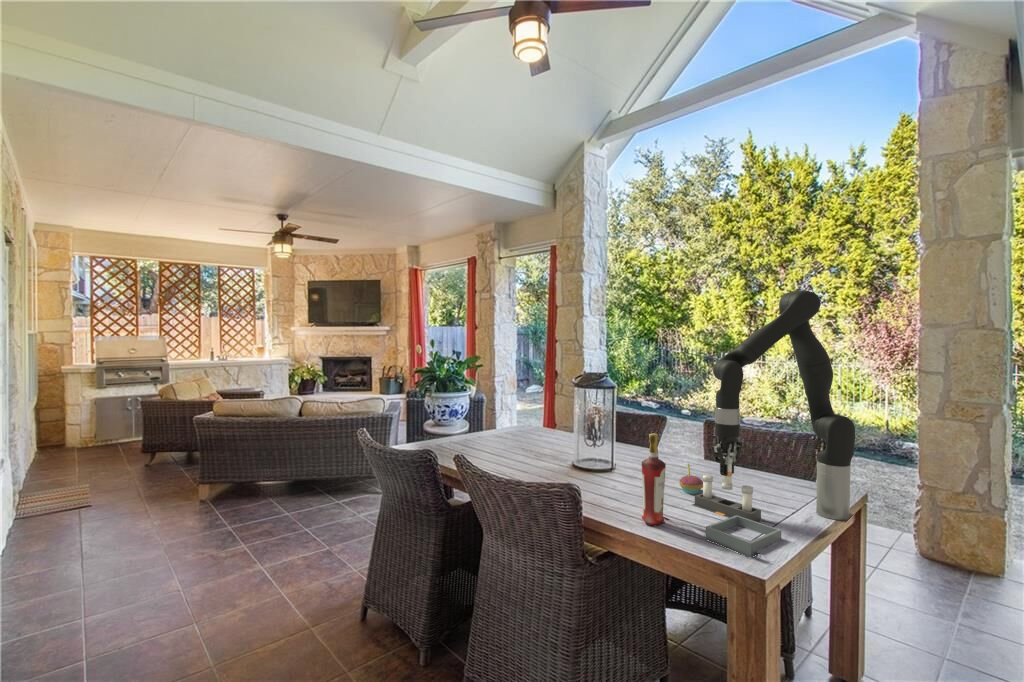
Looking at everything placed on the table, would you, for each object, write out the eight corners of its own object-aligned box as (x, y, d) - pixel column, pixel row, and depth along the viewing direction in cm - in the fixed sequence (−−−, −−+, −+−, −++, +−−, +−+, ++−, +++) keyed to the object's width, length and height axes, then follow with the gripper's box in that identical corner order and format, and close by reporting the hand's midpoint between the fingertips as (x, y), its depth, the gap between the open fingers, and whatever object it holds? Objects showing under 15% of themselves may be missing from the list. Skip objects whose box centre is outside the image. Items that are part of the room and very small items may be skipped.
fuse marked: (725, 486, 163) (725, 455, 163) (734, 488, 161) (734, 458, 160) (719, 487, 161) (719, 457, 161) (728, 490, 159) (728, 459, 159)
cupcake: (674, 493, 184) (674, 461, 184) (692, 490, 187) (692, 459, 187) (690, 500, 176) (690, 467, 176) (709, 497, 179) (709, 464, 179)
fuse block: (705, 504, 172) (705, 491, 172) (764, 524, 155) (764, 509, 155) (690, 509, 168) (691, 496, 168) (750, 530, 150) (750, 515, 150)
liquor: (646, 516, 161) (647, 431, 160) (668, 522, 156) (669, 434, 156) (637, 523, 155) (637, 434, 155) (659, 529, 151) (660, 438, 150)
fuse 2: (745, 515, 158) (745, 484, 157) (754, 519, 155) (755, 487, 155) (739, 518, 156) (739, 486, 156) (749, 521, 153) (749, 489, 153)
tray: (736, 528, 152) (736, 515, 152) (781, 544, 141) (781, 530, 140) (705, 540, 143) (705, 526, 143) (750, 558, 132) (751, 543, 132)
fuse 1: (706, 503, 169) (706, 474, 169) (714, 505, 167) (714, 476, 166) (700, 504, 167) (700, 475, 167) (708, 507, 165) (709, 478, 165)
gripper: (725, 426, 153) (725, 481, 154) (750, 420, 161) (750, 473, 162) (704, 422, 160) (703, 475, 160) (729, 417, 167) (728, 468, 168)
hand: (727, 474), depth 161 cm, fingers closed on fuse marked, 3 cm apart
